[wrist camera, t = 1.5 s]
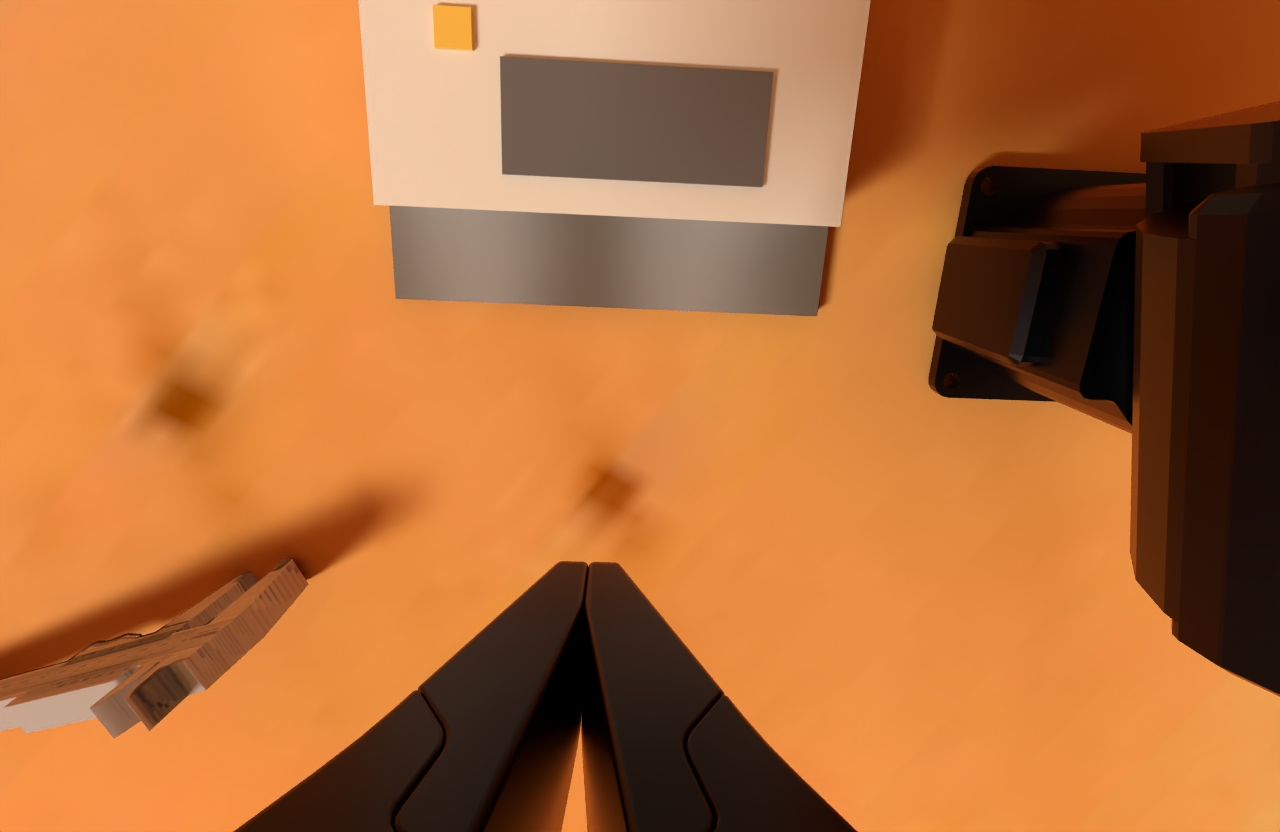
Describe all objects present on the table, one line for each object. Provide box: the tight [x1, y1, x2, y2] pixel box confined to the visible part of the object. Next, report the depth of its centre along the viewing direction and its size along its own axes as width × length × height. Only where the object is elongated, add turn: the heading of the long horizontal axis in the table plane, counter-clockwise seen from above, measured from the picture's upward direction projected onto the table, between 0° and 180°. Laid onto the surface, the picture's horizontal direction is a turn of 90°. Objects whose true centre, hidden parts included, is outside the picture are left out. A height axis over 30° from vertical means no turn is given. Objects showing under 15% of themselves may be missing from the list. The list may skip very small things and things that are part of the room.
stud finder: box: [359, 0, 871, 227], centre depth 15 cm, size 11×5×3 cm, turn 87°
